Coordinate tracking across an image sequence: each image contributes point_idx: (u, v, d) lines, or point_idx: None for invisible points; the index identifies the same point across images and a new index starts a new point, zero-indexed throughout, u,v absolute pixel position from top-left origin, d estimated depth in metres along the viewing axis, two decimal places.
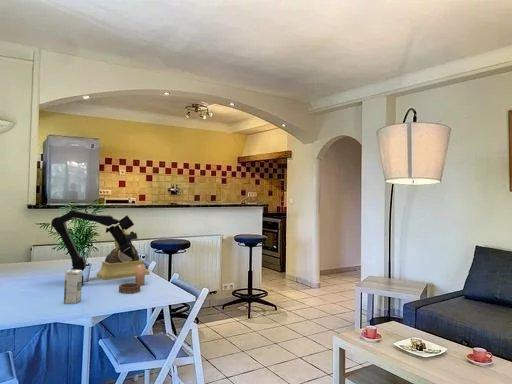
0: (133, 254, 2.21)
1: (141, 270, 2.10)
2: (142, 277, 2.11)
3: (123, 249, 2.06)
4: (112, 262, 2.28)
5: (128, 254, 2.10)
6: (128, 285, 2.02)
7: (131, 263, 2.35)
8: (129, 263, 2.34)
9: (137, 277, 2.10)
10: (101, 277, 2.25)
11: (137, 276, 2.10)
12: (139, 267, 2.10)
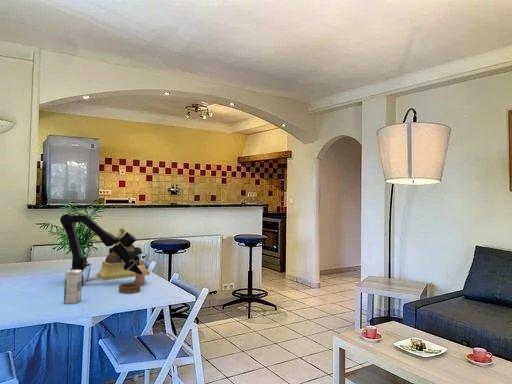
0: None
1: (141, 270, 2.10)
2: (142, 277, 2.11)
3: (127, 267, 2.02)
4: (112, 262, 2.28)
5: (135, 270, 2.08)
6: (128, 285, 2.02)
7: None
8: None
9: (137, 277, 2.10)
10: (101, 277, 2.25)
11: (137, 276, 2.10)
12: (139, 267, 2.10)
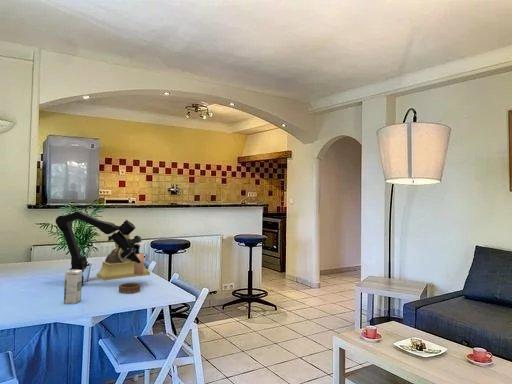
0: None
1: (140, 258, 2.07)
2: (141, 266, 2.07)
3: (124, 255, 1.99)
4: (112, 262, 2.28)
5: (133, 259, 2.05)
6: (128, 285, 2.02)
7: (131, 263, 2.34)
8: (129, 263, 2.33)
9: (135, 266, 2.07)
10: (101, 277, 2.24)
11: (135, 265, 2.07)
12: (137, 256, 2.07)
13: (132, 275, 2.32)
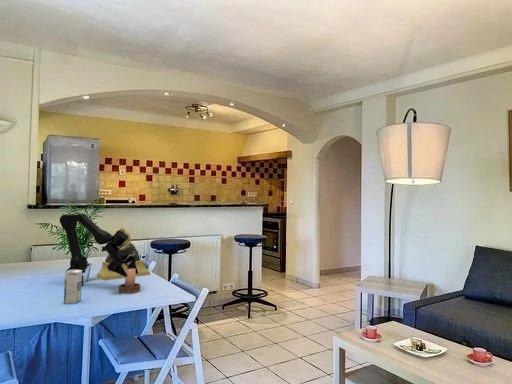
0: (136, 271, 2.03)
1: (129, 274, 1.96)
2: (130, 282, 1.96)
3: (110, 267, 1.91)
4: None
5: (119, 272, 1.93)
6: None
7: None
8: None
9: (125, 281, 1.97)
10: (101, 277, 2.24)
11: (125, 280, 1.97)
12: (127, 271, 1.96)
13: None
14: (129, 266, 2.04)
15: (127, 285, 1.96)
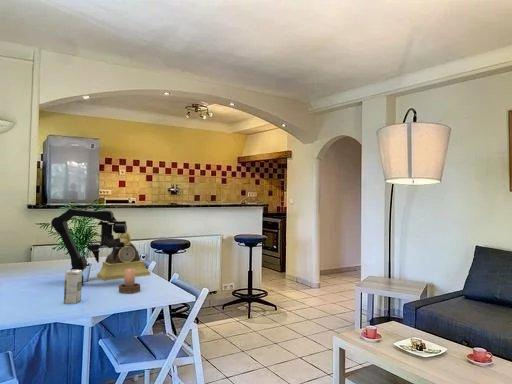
0: (113, 258, 2.13)
1: (129, 274, 1.96)
2: (130, 282, 1.96)
3: (88, 248, 2.04)
4: (112, 262, 2.27)
5: (94, 255, 2.06)
6: None
7: (131, 263, 2.33)
8: (129, 263, 2.33)
9: (125, 281, 1.97)
10: (101, 277, 2.24)
11: (125, 280, 1.97)
12: (127, 271, 1.96)
13: None
14: (113, 249, 2.15)
15: (127, 285, 1.96)
